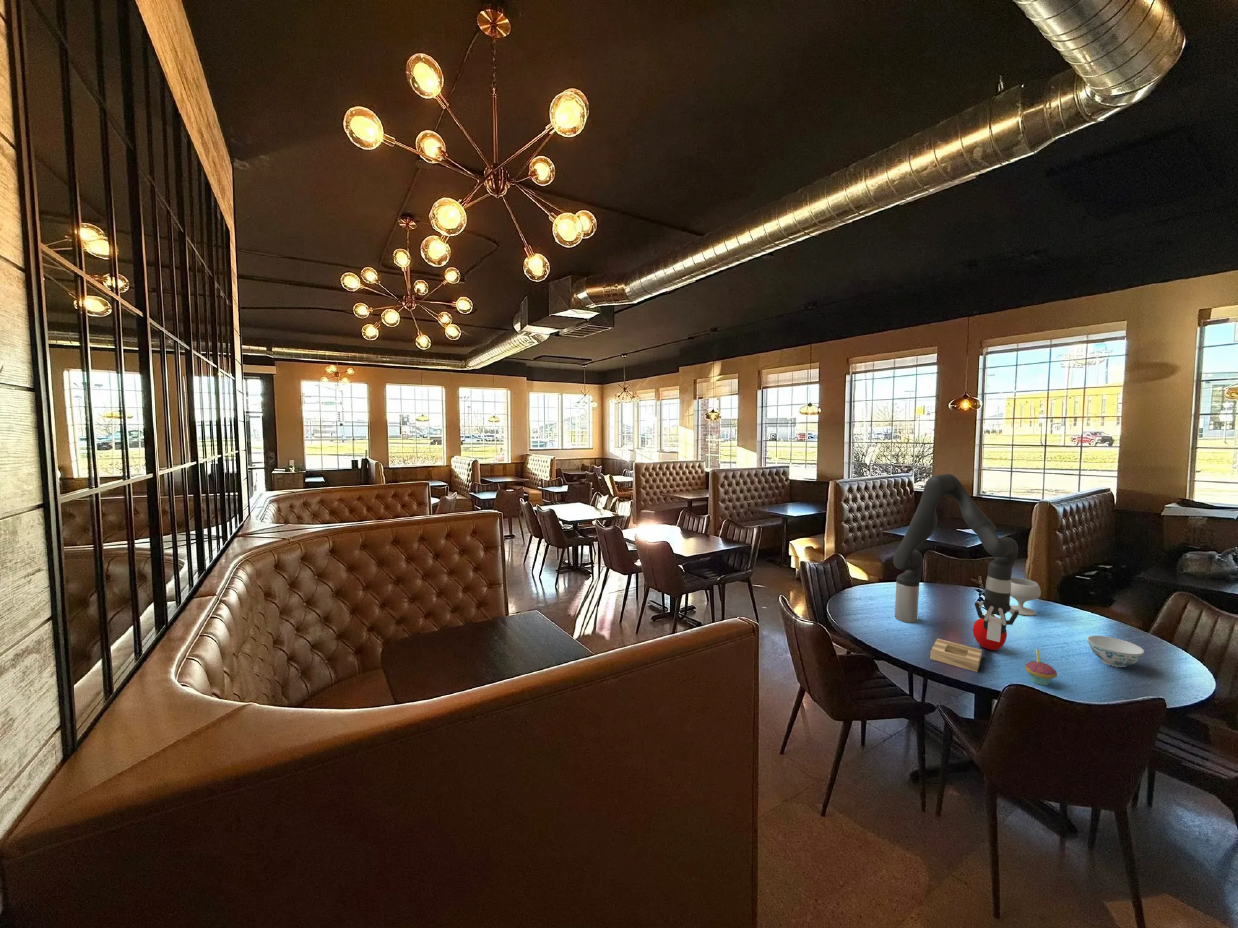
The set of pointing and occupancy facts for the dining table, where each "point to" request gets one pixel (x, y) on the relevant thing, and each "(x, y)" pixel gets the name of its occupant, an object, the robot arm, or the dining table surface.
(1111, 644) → the chinaware
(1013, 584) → the chalice
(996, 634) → the grey stepped wood block
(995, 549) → the robot arm
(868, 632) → the dining table surface
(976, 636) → the tomato
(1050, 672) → the cupcake
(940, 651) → the well block
